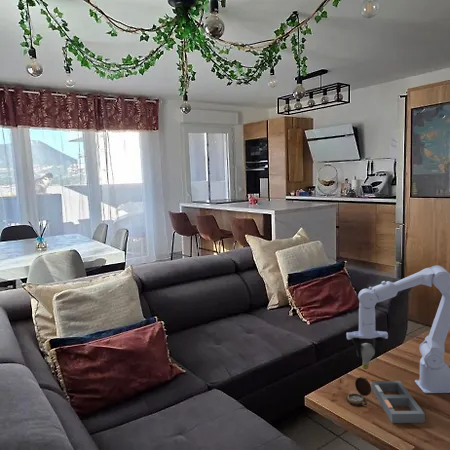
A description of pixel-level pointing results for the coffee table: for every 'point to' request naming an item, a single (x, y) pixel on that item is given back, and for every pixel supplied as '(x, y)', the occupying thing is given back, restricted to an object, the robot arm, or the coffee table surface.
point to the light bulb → (366, 354)
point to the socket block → (398, 402)
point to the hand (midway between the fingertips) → (367, 356)
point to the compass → (362, 388)
